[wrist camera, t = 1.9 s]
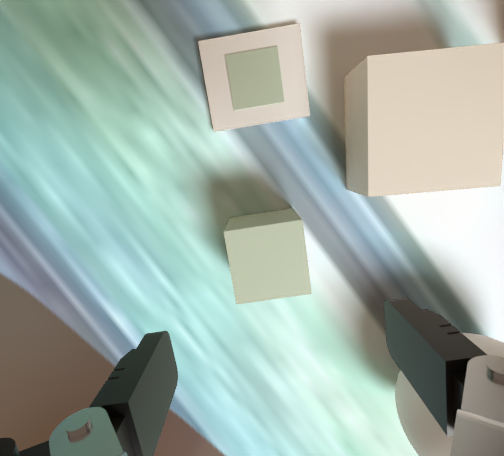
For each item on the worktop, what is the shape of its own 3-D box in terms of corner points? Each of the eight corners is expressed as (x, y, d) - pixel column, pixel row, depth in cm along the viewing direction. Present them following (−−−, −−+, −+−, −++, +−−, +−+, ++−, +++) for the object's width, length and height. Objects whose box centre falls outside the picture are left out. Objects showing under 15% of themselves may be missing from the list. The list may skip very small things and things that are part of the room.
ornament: (441, 286, 26) (597, 393, 14) (521, 360, 27) (725, 514, 15) (352, 369, 27) (424, 526, 16) (432, 435, 29) (553, 624, 17)
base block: (456, 67, 22) (512, 41, 18) (450, 180, 24) (500, 185, 19) (343, 77, 23) (367, 55, 18) (345, 189, 24) (368, 196, 20)
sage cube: (292, 207, 25) (302, 219, 20) (300, 268, 26) (311, 293, 21) (229, 217, 25) (223, 231, 20) (239, 276, 26) (236, 304, 21)
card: (298, 26, 22) (300, 22, 21) (308, 116, 23) (310, 115, 22) (199, 43, 22) (197, 40, 21) (214, 132, 23) (213, 131, 23)
